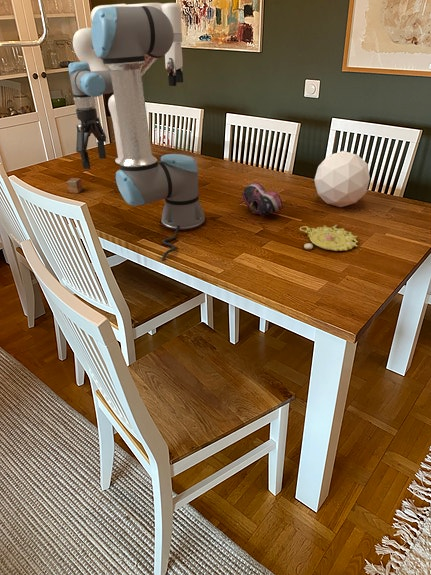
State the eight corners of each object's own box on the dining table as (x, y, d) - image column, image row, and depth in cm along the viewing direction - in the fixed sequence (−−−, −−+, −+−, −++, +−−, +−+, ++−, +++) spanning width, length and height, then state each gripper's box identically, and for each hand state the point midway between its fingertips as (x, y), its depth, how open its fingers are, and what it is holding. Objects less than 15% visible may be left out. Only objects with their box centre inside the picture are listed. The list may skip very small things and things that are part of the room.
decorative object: (343, 255, 128) (285, 234, 139) (342, 262, 130) (284, 241, 140) (372, 230, 142) (317, 213, 152) (371, 237, 143) (316, 219, 153)
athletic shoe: (254, 181, 170) (227, 189, 167) (283, 176, 151) (253, 185, 147) (260, 210, 173) (234, 218, 170) (290, 209, 154) (261, 219, 150)
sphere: (345, 225, 166) (360, 196, 147) (300, 198, 170) (308, 167, 152) (371, 189, 170) (388, 157, 152) (326, 164, 175) (337, 130, 156)
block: (74, 189, 188) (71, 178, 185) (83, 189, 187) (80, 178, 184) (69, 192, 184) (66, 181, 182) (78, 193, 184) (76, 181, 181)
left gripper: (171, 37, 189) (174, 81, 198) (157, 40, 175) (161, 87, 184) (187, 37, 188) (190, 81, 197) (175, 40, 173) (178, 87, 183)
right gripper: (92, 100, 178) (100, 153, 190) (59, 114, 158) (71, 172, 170) (109, 101, 177) (116, 154, 189) (78, 115, 157) (88, 174, 169)
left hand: (176, 84), depth 190 cm, fingers open, 9 cm apart
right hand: (95, 163), depth 179 cm, fingers open, 13 cm apart
